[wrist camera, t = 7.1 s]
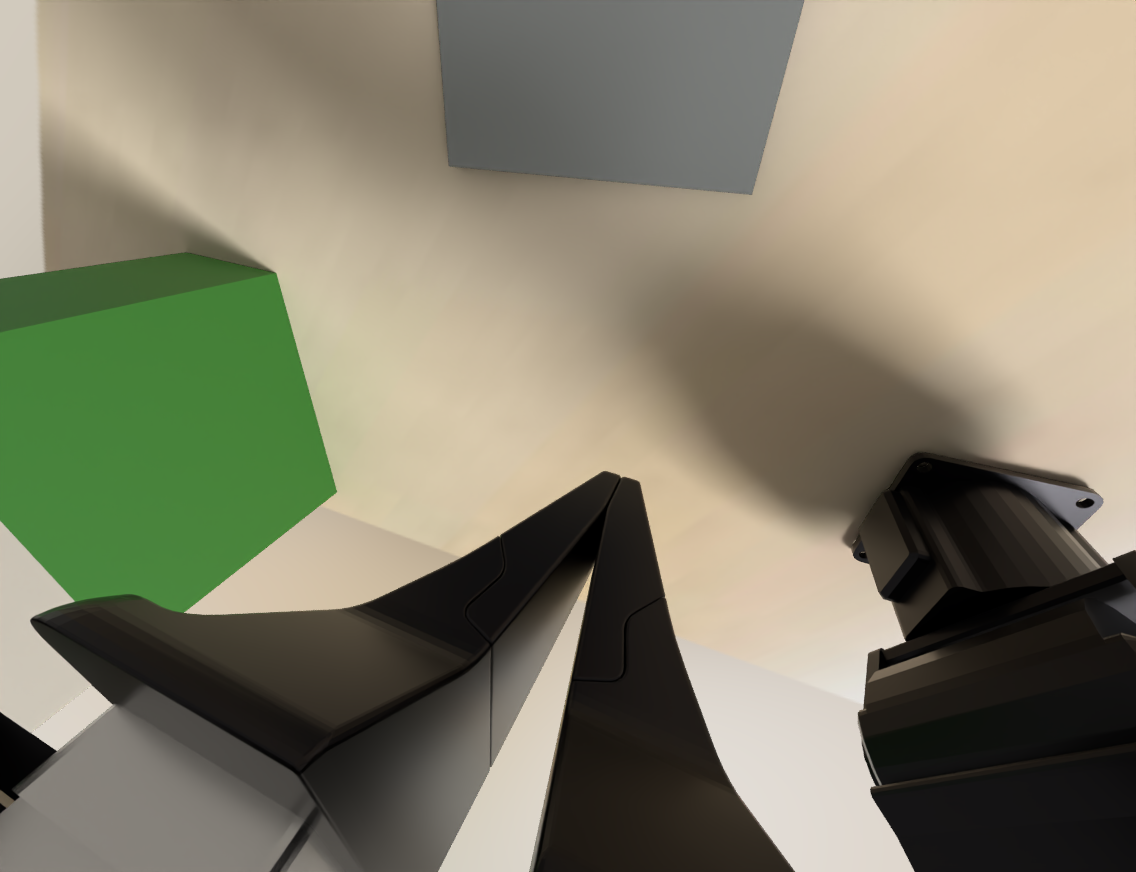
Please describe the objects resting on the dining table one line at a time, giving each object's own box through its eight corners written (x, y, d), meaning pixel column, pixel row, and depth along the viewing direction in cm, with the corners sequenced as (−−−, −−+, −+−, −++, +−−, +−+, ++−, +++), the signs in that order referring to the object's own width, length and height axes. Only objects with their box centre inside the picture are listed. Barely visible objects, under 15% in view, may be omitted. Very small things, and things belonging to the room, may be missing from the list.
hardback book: (336, 492, 35) (-151, 876, 16) (268, 467, 37) (-249, 788, 18) (276, 273, 25) (-1201, 590, 6) (185, 252, 27) (-1199, 450, 8)
